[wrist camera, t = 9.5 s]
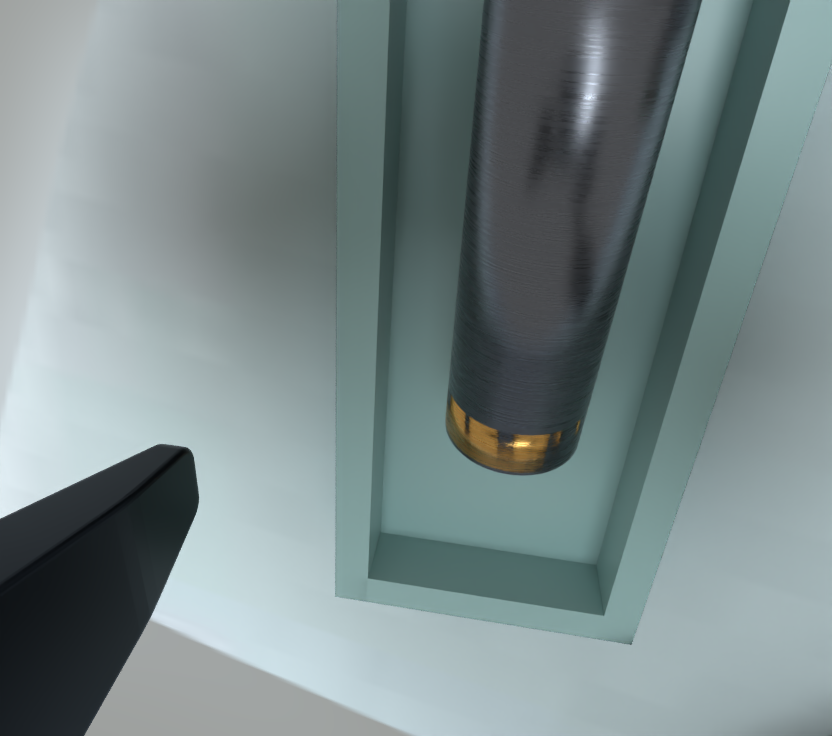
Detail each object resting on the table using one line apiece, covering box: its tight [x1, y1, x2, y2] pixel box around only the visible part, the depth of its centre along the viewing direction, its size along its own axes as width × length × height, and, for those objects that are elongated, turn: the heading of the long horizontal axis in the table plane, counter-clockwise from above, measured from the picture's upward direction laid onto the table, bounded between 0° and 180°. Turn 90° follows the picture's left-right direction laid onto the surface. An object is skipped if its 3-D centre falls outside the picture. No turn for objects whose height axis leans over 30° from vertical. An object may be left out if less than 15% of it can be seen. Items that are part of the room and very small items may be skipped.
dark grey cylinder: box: [445, 0, 702, 476], centre depth 12 cm, size 14×3×3 cm, turn 176°
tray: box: [335, 0, 832, 645], centre depth 15 cm, size 20×9×2 cm, turn 176°
